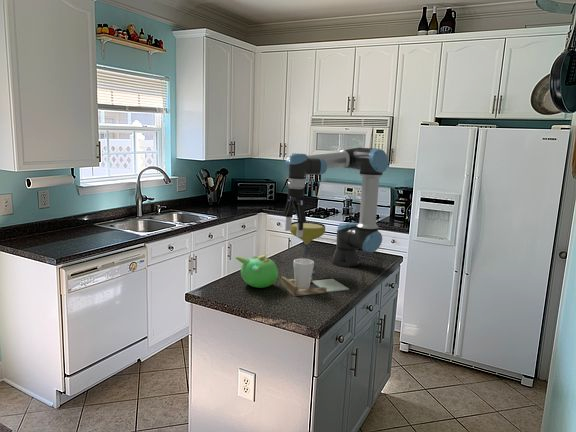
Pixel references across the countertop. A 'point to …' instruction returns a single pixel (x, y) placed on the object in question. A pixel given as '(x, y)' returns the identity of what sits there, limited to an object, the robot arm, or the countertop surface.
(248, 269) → the toy bird
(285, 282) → the wooden u-shaped frame
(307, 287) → the foam cup
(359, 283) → the countertop surface
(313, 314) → the countertop surface
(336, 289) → the pad
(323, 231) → the cocktail glass
